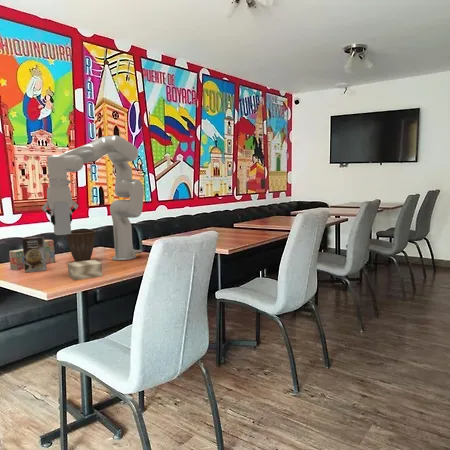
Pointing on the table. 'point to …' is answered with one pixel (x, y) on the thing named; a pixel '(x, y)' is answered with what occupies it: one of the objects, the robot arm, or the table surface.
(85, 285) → the table surface
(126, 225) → the robot arm
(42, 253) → the coffee box
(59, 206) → the grey block
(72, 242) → the plant pot
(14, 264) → the stack of blocks
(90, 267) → the beige metal block
